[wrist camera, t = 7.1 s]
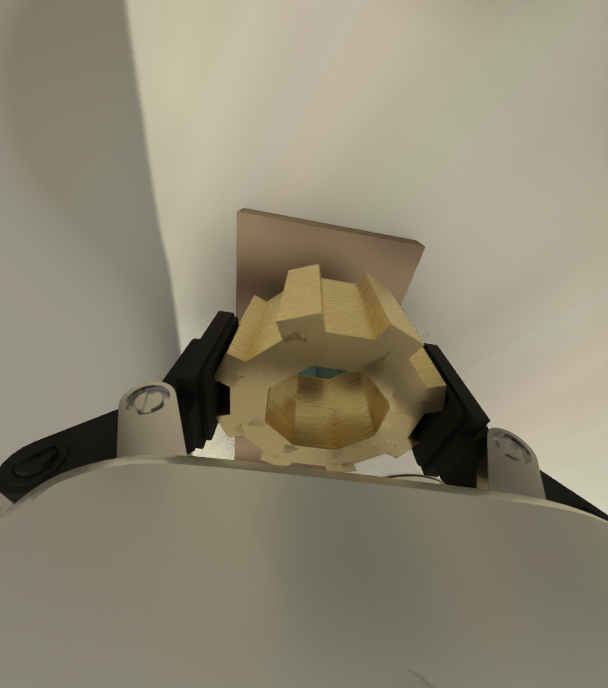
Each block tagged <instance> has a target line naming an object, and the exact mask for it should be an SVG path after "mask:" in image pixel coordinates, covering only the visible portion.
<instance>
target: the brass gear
mask: <svg viewBox="0 0 608 688" xmlns="http://www.w3.org/2000/svg"><path fill="white" fill-rule="evenodd" d="M423 346H424V343H423V342H422V340H421V339H420V337H419V335H418V334H417V332H416V331H415V329H414V328H413V326H412V324H411V323H410V321H409V320H408V318H407V317H406V315H405V313H404V312H403V310H402V309H401V307H400V306H399V304H398V302H397V301H396V299H395V298H394V296H393V295H392V293H391V291H390V290H389V288H388V287H387V286H385V285H384V284H382V283H381V282H379V281H378V280H376V279H375V278H373V277H372V276H370V275H369V274H367V273H366V272H364V273H363V274H362V275H361V277H360V278H359V279H358V281H357V282H356V283H355V284H353V283H347V282H342V281H336V280H330V279H324V278H322V277H321V272H320V267H319V264H315V265H310V266H306V267H301V268H297V269H292V270H289V271H288V275H287V279H286V283H285V287H284V291H282V292H281V293H279V294H278V295H276V296H275V297H273V298H272V299H271V300H269V301H268V302H266V301H264V300H262V299H261V298H259V297H257V296H255V295H254V297H253V298H252V300H251V302H250V304H249V306H248V308H247V309H246V311H245V313H244V315H243V317H242V319H241V321H240V323H239V325H238V327H237V330H236V332H235V334H234V336H233V338H232V340H231V342H230V344H229V346H228V348H227V350H226V352H225V354H224V356H223V358H222V361H221V363H220V365H219V367H218V369H217V371H216V373H215V375H214V380H216V381H218V382H220V383H223V384H225V385H227V386H228V388H227V391H226V393H225V396H224V398H223V401H222V403H221V406H220V409H219V411H218V414H217V416H216V418H217V421H218V422H219V424H220V425H221V427H222V428H223V430H224V431H225V433H226V434H227V436H228V437H234V436H242V435H243V436H244V437H246V438H247V439H249V440H250V441H251V442H253V443H254V444H255V445H257V446H258V447H259V448H261V449H262V452H261V458H260V460H263V461H266V462H268V463H271V464H274V465H283V466H289V465H290V464H292V463H302V464H310V465H319V466H325V467H326V470H327V471H335V472H351V471H356V467H355V463H357V462H360V461H363V460H366V459H369V458H373V457H376V456H379V455H382V454H385V453H386V454H388V455H391V456H393V457H395V458H398V457H399V456H401V455H402V454H404V453H405V452H407V451H408V450H410V449H411V448H413V447H415V446H416V445H417V444H418V443H419V442H418V440H417V437H416V435H415V432H414V428H415V427H416V425H417V424H418V422H419V421H420V419H421V418H422V416H423V415H424V414H425V413H433V412H441V411H442V410H443V408H444V401H445V393H446V384H445V382H444V381H443V379H442V377H441V376H440V374H439V372H438V371H437V369H436V368H435V366H434V364H433V363H432V361H431V360H430V358H429V356H428V355H427V353H426V351H425V350H424V348H423ZM310 366H317V367H324V368H331V369H338V370H345V371H346V372H344V373H341V374H339V375H337V376H335V377H333V378H331V379H326V378H319V377H312V376H305V375H298V374H297V373H299V372H301V371H303V370H305V369H307V368H309V367H310Z"/></svg>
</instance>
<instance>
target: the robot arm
mask: <svg viewBox="0 0 608 688" xmlns="http://www.w3.org/2000/svg"><path fill="white" fill-rule="evenodd" d="M237 327H238V317H234V313H230V312H224V311H219V312H218V313H217V315H216V316H215V318H214V319H213V321H212V322H211V324H210V325H209V327H208V328H207V330H206V331H205V333H204V334H203V336H202V337H201V339H193V340H192V341H191V342H190V343H189V345H188V346H187V347H186V349H185V350H184V352H183V353H182V354H181V356H180V357H179V359H178V360H177V361H176V363H175V364H174V366H173V367H172V368H171V370H170V371H169V373H168V374H167V375H166V377H165V378H164V380H163V381H162V382H156V381H155V382H147V383H143V384H140V385H137V386H136V387H134V388H131V389H130V390H129V391H128V392H126V393H125V394H124V395H123V397H122V398H121V399H120V402H119V407H118V409H117V410H115V411H112V412H110V413H107V414H104V415H102V416H100V417H97V418H94V419H92V420H89V421H86V422H84V423H81V424H79V425H76V426H74V427H71V428H68V429H66V430H63V431H61V432H58V433H56V434H53V435H51V436H48V437H45V438H43V439H40V440H38V441H35V442H33V443H31V444H29V445H27V446H25V447H23V448H21V449H20V450H18V451H17V452H15V453H14V454H12V455H11V456H10V457H9V458H8V459H7V460H6V461H5V462H4V463H2V465H1V466H0V688H608V515H607V514H605V513H604V512H602V511H601V510H599V509H598V508H597V507H595V506H594V505H592V504H591V503H589V502H588V501H586V500H585V499H583V498H582V497H580V496H578V495H577V494H575V493H574V492H572V491H571V490H569V489H568V488H566V487H565V486H563V485H562V484H560V483H559V482H557V481H556V480H554V479H553V478H551V477H550V476H548V475H547V474H545V473H544V472H542V471H541V470H539V465H538V461H537V458H536V455H535V453H534V452H533V451H532V449H531V448H530V447H529V446H528V445H527V444H526V443H525V442H524V441H523V440H522V439H520V438H519V437H518V436H516V435H515V434H513V433H511V432H509V431H507V430H504V429H501V428H491V429H490V430H489V429H488V427H487V426H486V425H487V424H488V423H489V421H490V419H489V418H488V417H487V415H486V414H485V412H484V411H483V410H482V408H481V407H480V405H479V404H478V402H477V401H476V400H475V398H474V397H473V395H472V394H471V393H470V391H469V390H468V388H467V387H466V385H465V384H464V383H463V381H462V380H461V378H460V377H459V375H458V374H457V373H456V371H455V370H454V368H453V367H452V366H451V364H450V363H449V361H448V360H447V358H446V357H445V356H444V354H443V353H442V351H441V350H440V348H439V347H438V346H437V345H432V344H426V343H424V346H423V348H424V350H425V351H426V353H427V355H428V356H429V358H430V360H431V361H432V363H433V364H434V366H435V368H436V369H437V371H438V372H439V374H440V376H441V377H442V379H443V381H444V382H445V384H446V393H445V401H444V408H443V410H442V411H441V412H433V413H425V414H424V415H423V416H422V418H421V419H420V421H419V422H418V424H417V425H416V427H415V428H414V432H415V435H416V437H417V440H418V442H419V443H418V444H417V445H416V446H415V447H413V448H412V451H413V454H414V457H415V459H416V462H417V464H418V465H419V466H421V468H422V471H423V474H424V475H425V476H433V477H438V476H440V478H441V480H442V481H441V483H440V482H438V481H436V480H433V479H430V478H425V477H417V476H402V477H394V478H386V477H378V476H369V475H361V474H352V473H344V472H335V471H327V470H318V469H309V468H300V467H292V466H283V465H274V464H265V463H256V462H247V461H238V460H227V459H217V458H206V457H196V456H187V455H188V454H189V453H191V452H193V451H195V448H199V449H203V448H204V445H205V442H206V440H211V439H212V438H213V435H214V432H215V430H216V427H217V424H218V421H217V418H216V416H217V414H218V411H219V409H220V406H221V403H222V401H223V398H224V396H225V393H226V391H227V388H228V386H227V385H225V384H223V383H220V382H218V381H216V380H214V375H215V373H216V371H217V369H218V367H219V365H220V363H221V361H222V358H223V356H224V354H225V352H226V350H227V348H228V346H229V344H230V342H231V340H232V338H233V336H234V334H235V332H236V330H237Z"/></svg>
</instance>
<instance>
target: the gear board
mask: <svg viewBox="0 0 608 688" xmlns="http://www.w3.org/2000/svg"><path fill="white" fill-rule="evenodd" d="M424 249H425V246H423V245H422V244H420V243H419V242H418V241H415V240H409V239H404V238H399V237H393V236H388V235H383V234H377V233H372V232H367V231H361V230H356V229H351V228H345V227H340V226H335V225H330V224H324V223H319V222H314V221H308V220H303V219H298V218H292V217H287V216H282V215H276V214H271V213H266V212H260V211H255V210H250V209H244V208H243V209H241V210H239V211H238V212H237V293H236V317H238V325H239V323H240V321H241V319H242V317H243V315H244V313H245V311H246V309H247V308H248V306H249V304H250V302H251V300H252V298H253V297H254V295H255V296H257V297H259V298H261V299H262V300H264V301H266V302H268V301H269V300H271V299H272V298H273V297H275V296H276V295H278V294H279V293H281V292H282V291H284V287H285V283H286V279H287V275H288V271H289V270H292V269H297V268H301V267H306V266H310V265H315V264H319V267H320V272H321V277H322V278H324V279H330V280H336V281H342V282H347V283H353V284H355V283H356V282H357V281H358V279H359V278H360V277H361V275H362V274H363V273H364V272H366V273H367V274H369V275H370V276H372V277H373V278H375V279H376V280H378V281H379V282H381V283H382V284H384V285H385V286H387V287H388V288H389V290H390V291H391V293H392V295H393V296H394V298H395V299H396V301H397V302H398V304H399V306H400V305H401V302H402V300H403V298H404V295H405V293H406V291H407V288H408V286H409V284H410V281H411V279H412V277H413V274H414V272H415V270H416V267H417V265H418V263H419V260H420V258H421V256H422V253H423V251H424ZM344 372H346V371H345V370H338V369H331V368H324V367H317V366H310V367H309V368H307V369H305V370H303V371H301V372H299V373H297V374H298V375H305V376H312V377H319V378H326V379H331V378H333V377H335V376H337V375H339V374H341V373H344ZM261 452H262V449H261V448H259V447H258V446H257V445H255V444H254V443H253V442H251V441H250V440H249V439H247V438H246V437H244V436H243V435H242V436H235V460H238V461H247V462H256V463H265V464H271V463H268V462H266V461H263V460H260V458H261ZM289 466H292V467H300V468H309V469H318V470H326V467H325V466H319V465H310V464H302V463H292V464H290V465H289Z"/></svg>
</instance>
